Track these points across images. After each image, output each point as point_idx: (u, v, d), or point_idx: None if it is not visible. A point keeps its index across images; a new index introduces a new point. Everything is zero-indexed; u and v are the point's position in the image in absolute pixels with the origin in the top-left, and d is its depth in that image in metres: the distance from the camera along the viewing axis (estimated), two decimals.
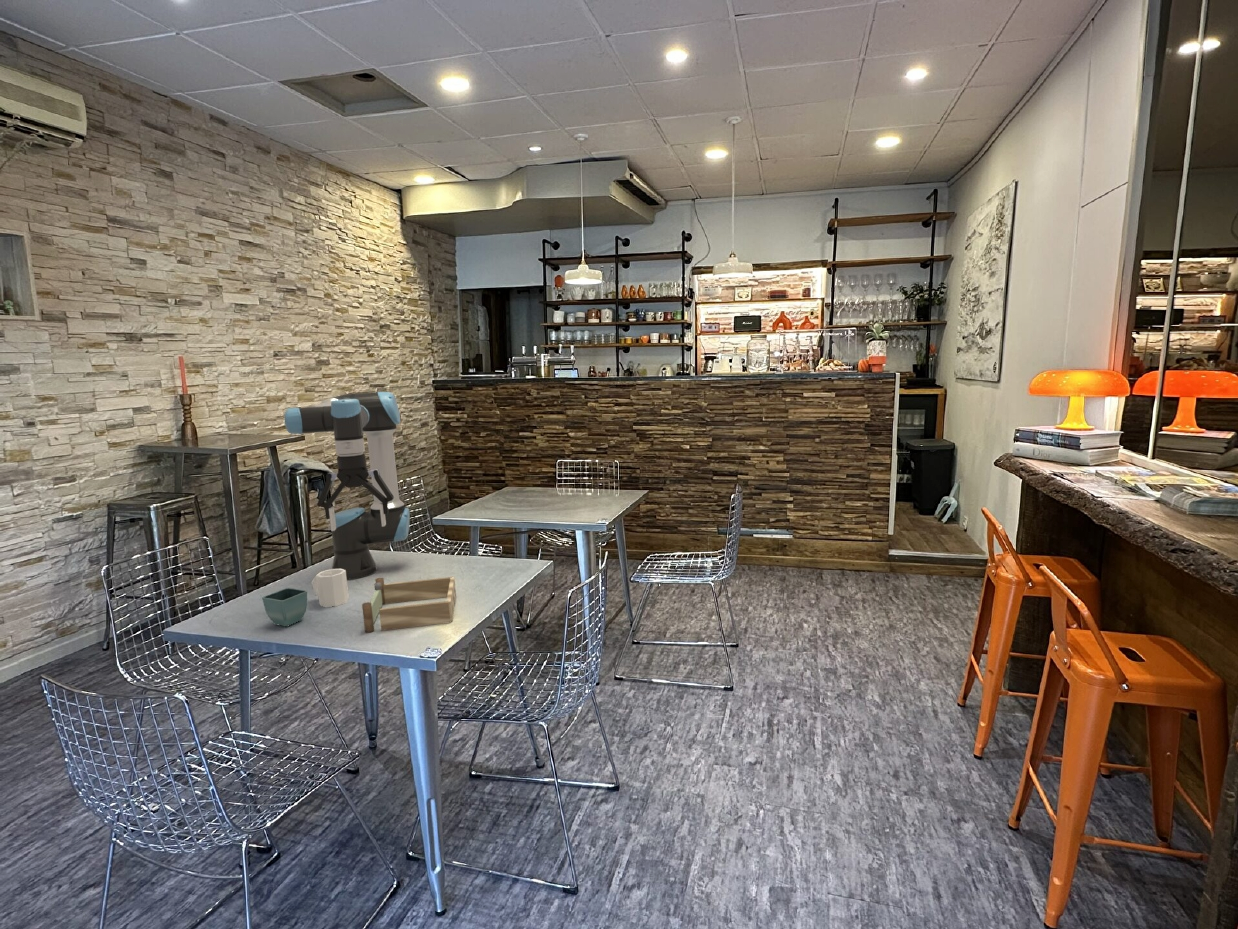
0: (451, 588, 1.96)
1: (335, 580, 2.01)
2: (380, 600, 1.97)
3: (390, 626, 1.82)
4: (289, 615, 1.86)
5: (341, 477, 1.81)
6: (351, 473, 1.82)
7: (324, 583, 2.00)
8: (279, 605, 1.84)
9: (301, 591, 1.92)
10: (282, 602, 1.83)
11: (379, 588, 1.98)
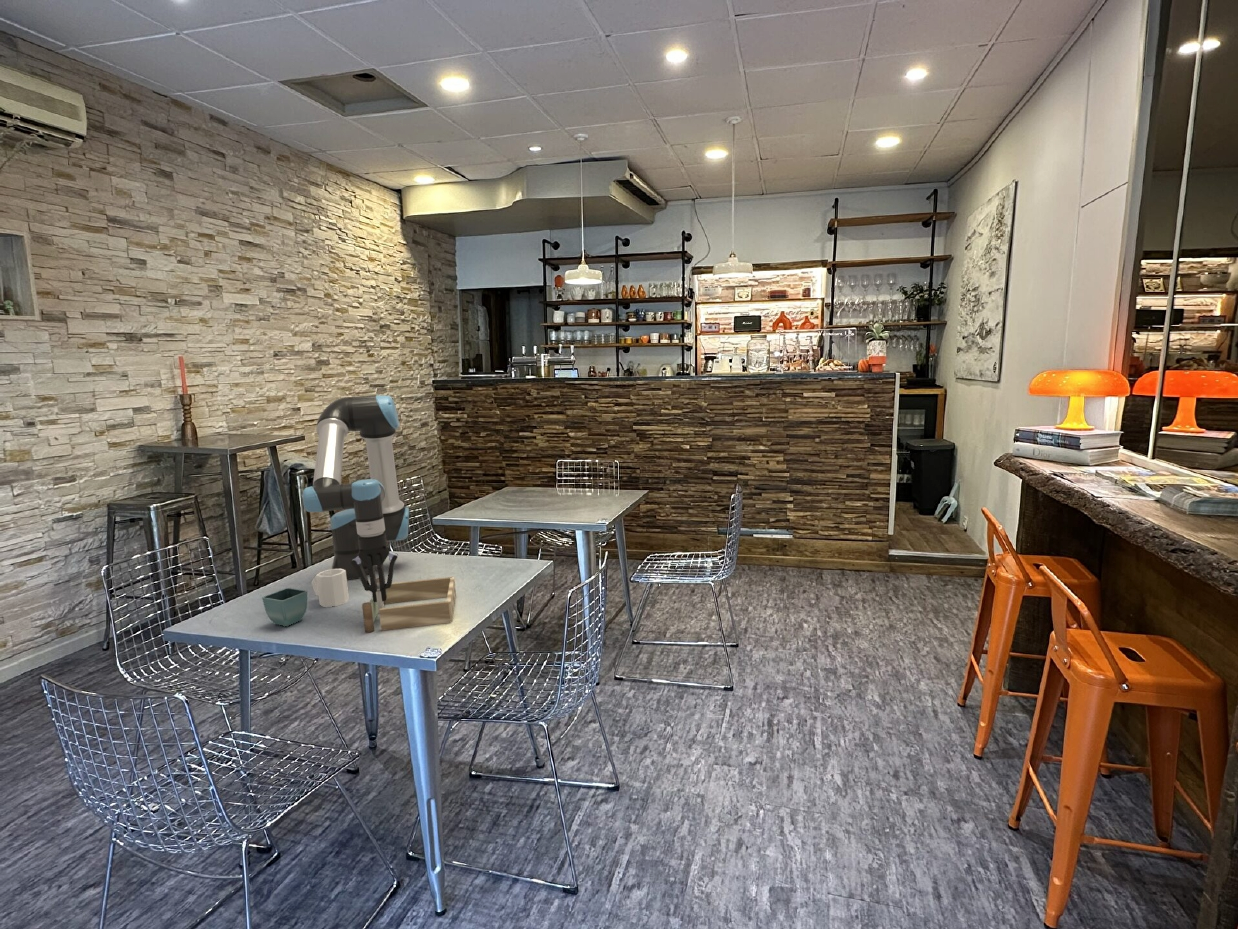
0: (451, 588, 1.96)
1: (335, 580, 2.01)
2: None
3: (390, 626, 1.82)
4: (289, 615, 1.86)
5: (362, 556, 1.85)
6: (372, 552, 1.85)
7: (324, 583, 2.00)
8: (279, 605, 1.84)
9: (301, 591, 1.92)
10: (282, 602, 1.83)
11: (378, 588, 1.98)
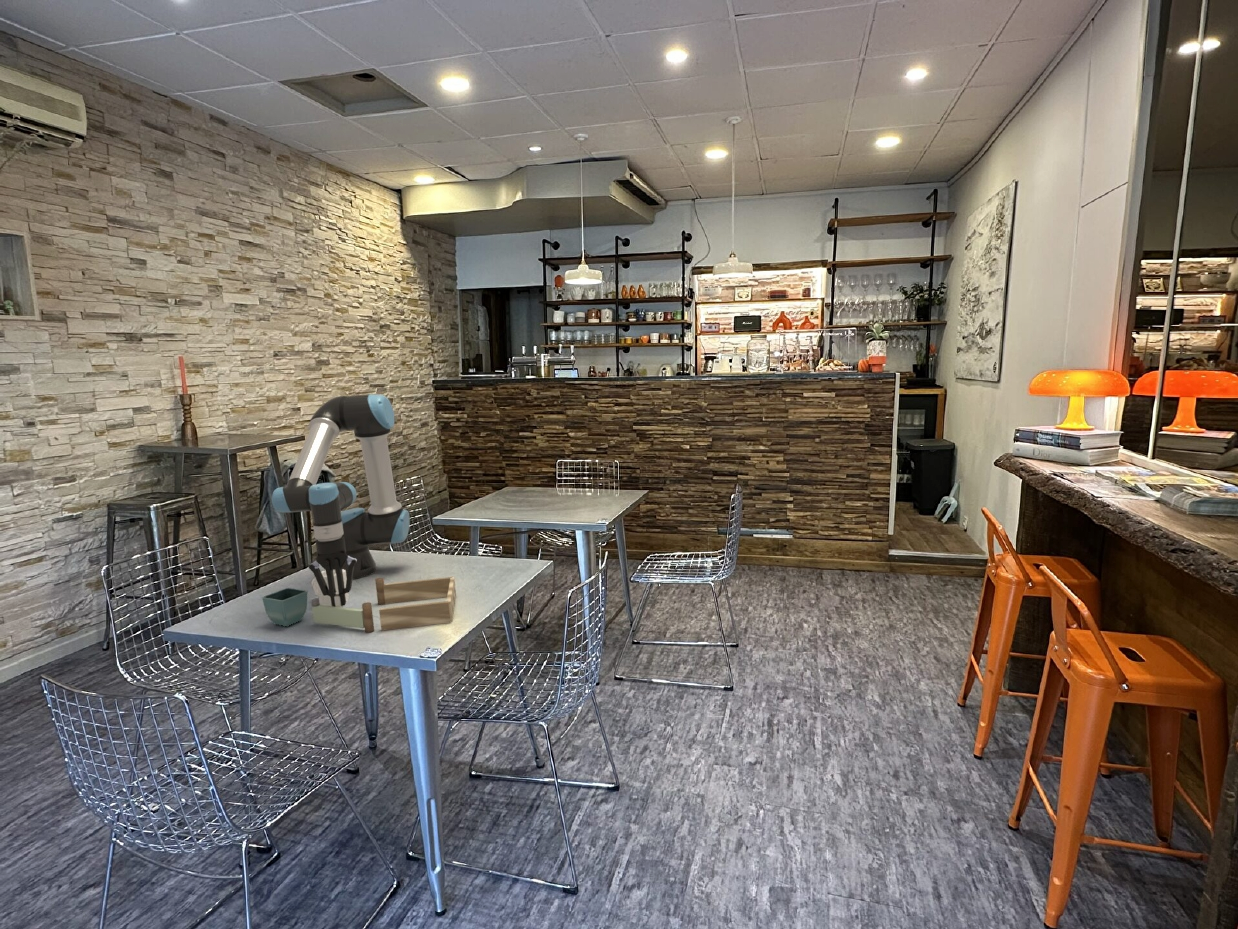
0: (451, 588, 1.96)
1: (335, 580, 2.01)
2: None
3: (390, 626, 1.82)
4: (289, 615, 1.86)
5: (320, 561, 1.83)
6: (330, 557, 1.83)
7: None
8: (279, 605, 1.84)
9: (301, 591, 1.92)
10: (282, 602, 1.83)
11: (319, 603, 1.87)
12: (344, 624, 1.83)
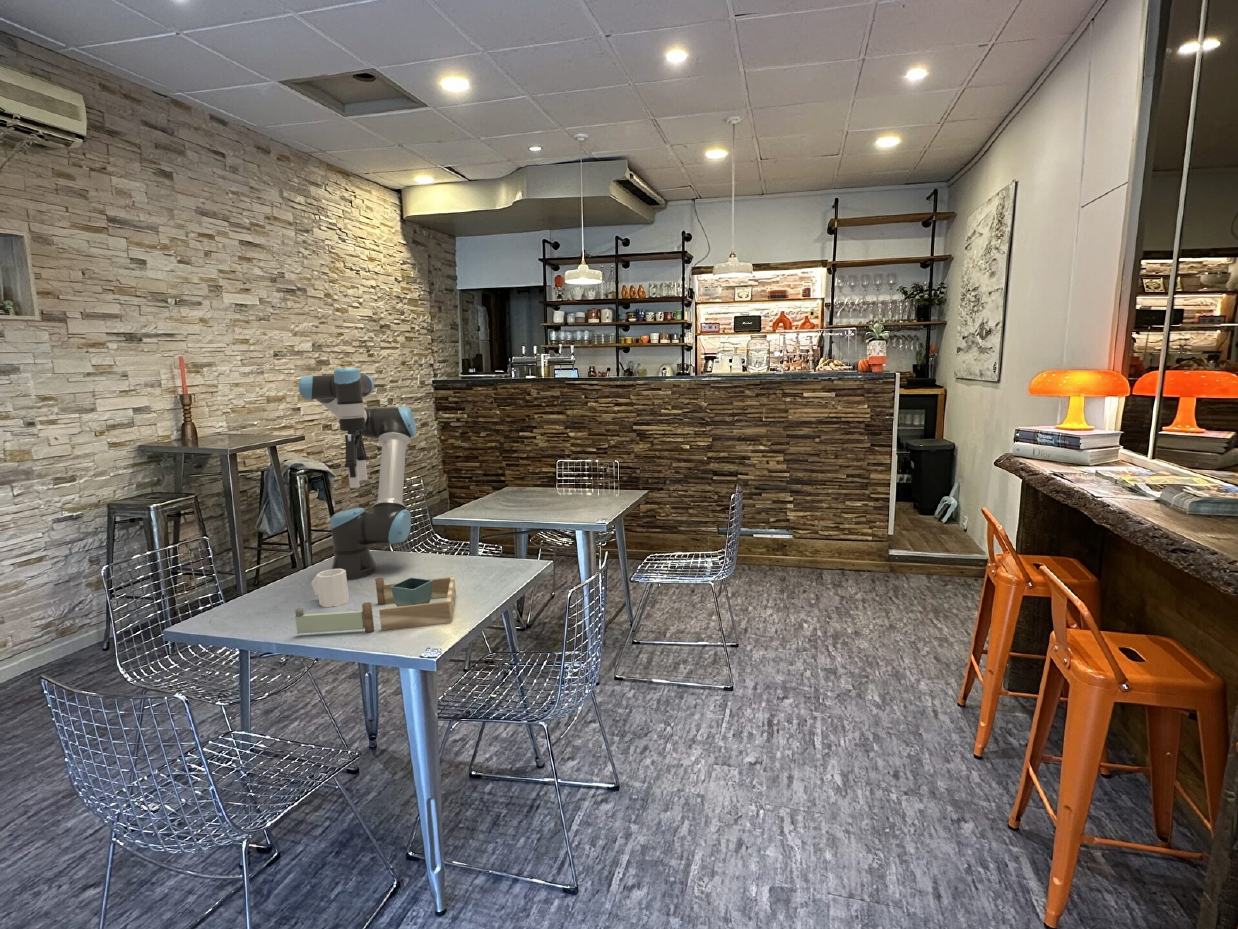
0: (451, 588, 1.96)
1: (335, 580, 2.01)
2: None
3: (390, 626, 1.82)
4: None
5: None
6: None
7: (324, 583, 2.00)
8: (409, 594, 1.88)
9: (426, 580, 1.96)
10: (413, 591, 1.88)
11: (303, 613, 1.80)
12: (338, 629, 1.80)
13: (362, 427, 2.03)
